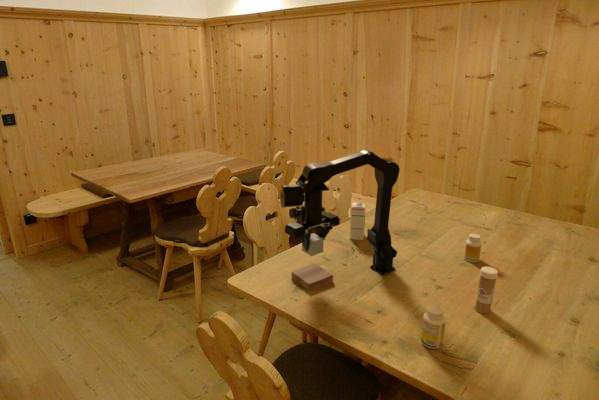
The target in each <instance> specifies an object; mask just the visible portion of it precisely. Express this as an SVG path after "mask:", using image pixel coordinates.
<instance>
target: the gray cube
mask: <svg viewBox="0 0 599 400" xmlns="http://www.w3.org/2000/svg"><path fill="white" fill-rule="evenodd" d="M310 234H311V237H310V243H309V248H308V251H305V249H304V247H303V244H302V243H301V251H302V252H303V253H305V254H307V255H309V256H310V257H313V256H316V255H319V254H321V253H323V252H324V241H323V238H322V237H320V236H318V235H317V233H314V232H313V233H310Z"/></svg>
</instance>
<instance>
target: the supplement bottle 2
mask: <svg viewBox="0 0 599 400" xmlns="http://www.w3.org/2000/svg"><path fill="white" fill-rule="evenodd" d="M481 249H482V242H481V235H480V234H477V233H469V234H468V239H466V241H465V245H464V252H463V259H464V261H467V262H469V263H478V262H479V260H480V256H481Z"/></svg>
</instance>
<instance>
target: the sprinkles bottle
mask: <svg viewBox="0 0 599 400" xmlns="http://www.w3.org/2000/svg"><path fill="white" fill-rule="evenodd" d="M498 274H499V271H498V270H497V269H496V268H494V267H491V266H482V267H481V268H480V273H479V275H480V276H479V282H478V285H477V290H476V296H475V304H474V309H475V311H477V312H479V313H481V314H489V313H490V312H491V311H492V310H491V307H492V302H493V300H494V294H495V289H496V283H497V278H498V277H499V276H498Z"/></svg>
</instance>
